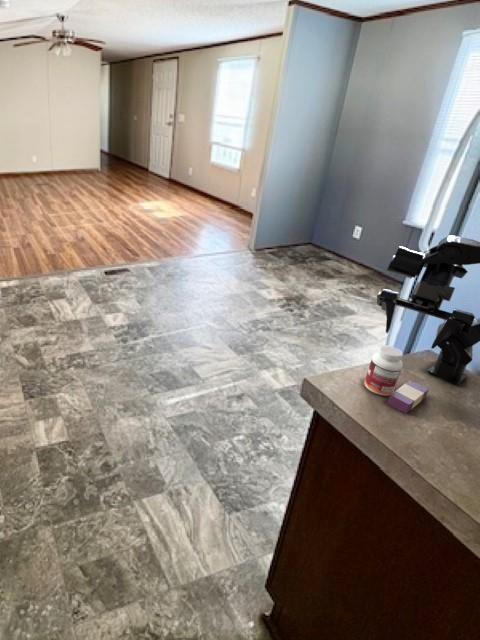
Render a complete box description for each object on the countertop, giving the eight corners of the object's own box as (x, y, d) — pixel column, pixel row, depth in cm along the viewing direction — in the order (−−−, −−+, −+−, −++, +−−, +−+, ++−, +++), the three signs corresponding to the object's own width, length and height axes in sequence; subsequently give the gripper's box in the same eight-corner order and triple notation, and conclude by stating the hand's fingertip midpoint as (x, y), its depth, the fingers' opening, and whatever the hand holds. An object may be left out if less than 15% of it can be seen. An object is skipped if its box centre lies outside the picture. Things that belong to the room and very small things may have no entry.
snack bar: (406, 388, 103) (409, 380, 102) (425, 397, 100) (428, 389, 99) (386, 403, 98) (390, 394, 97) (406, 413, 95) (409, 404, 94)
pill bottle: (369, 377, 107) (381, 340, 103) (397, 389, 103) (411, 351, 98) (359, 386, 104) (371, 349, 99) (387, 400, 99) (401, 361, 95)
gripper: (390, 258, 103) (363, 312, 101) (489, 282, 91) (462, 344, 88) (390, 278, 111) (365, 329, 109) (481, 303, 99) (456, 361, 96)
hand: (408, 339), depth 100 cm, fingers open, 9 cm apart
